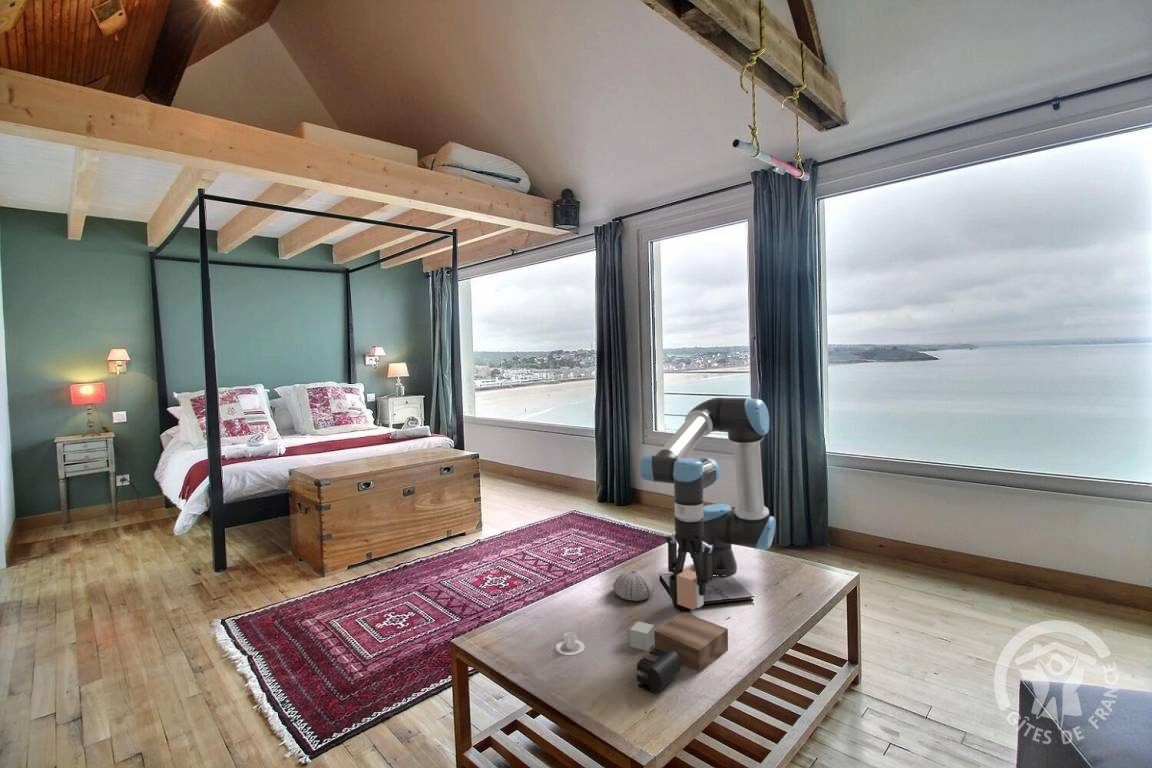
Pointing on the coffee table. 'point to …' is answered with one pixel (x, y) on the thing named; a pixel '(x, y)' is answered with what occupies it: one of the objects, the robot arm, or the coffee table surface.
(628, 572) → the sea urchin shell
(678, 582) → the terracotta block
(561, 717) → the coffee table surface
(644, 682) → the end cap
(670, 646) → the walnut block
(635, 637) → the grey cube
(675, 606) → the mug
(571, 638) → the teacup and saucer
